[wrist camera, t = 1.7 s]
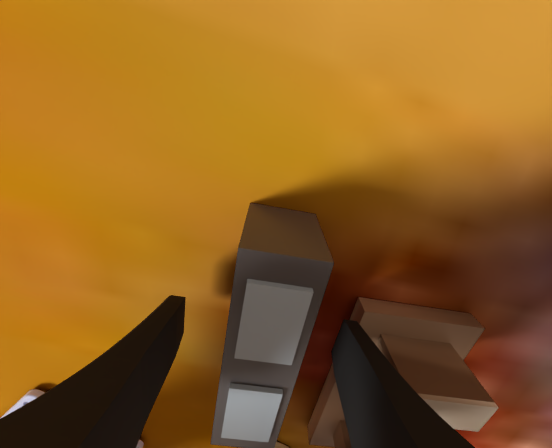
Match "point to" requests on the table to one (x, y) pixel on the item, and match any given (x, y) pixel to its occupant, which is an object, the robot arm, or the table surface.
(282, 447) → the grandmother figurine
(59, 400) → the robot arm
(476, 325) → the stand
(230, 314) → the bar
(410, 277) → the table surface
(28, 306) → the table surface
